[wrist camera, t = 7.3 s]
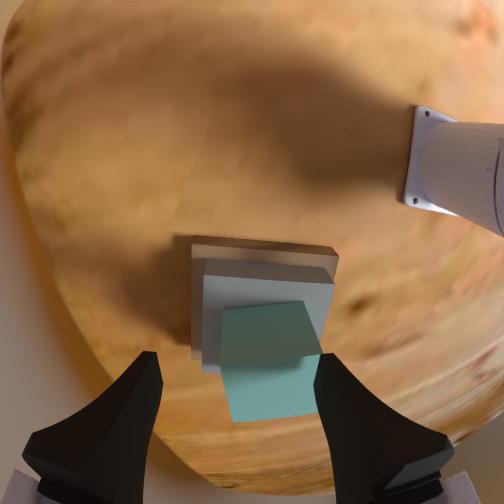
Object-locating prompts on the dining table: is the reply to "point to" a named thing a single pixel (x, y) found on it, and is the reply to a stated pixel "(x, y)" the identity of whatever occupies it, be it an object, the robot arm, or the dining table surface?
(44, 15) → the dining table surface
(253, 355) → the teal cube
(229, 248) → the walnut block
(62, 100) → the dining table surface
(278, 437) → the dining table surface
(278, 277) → the grey block
